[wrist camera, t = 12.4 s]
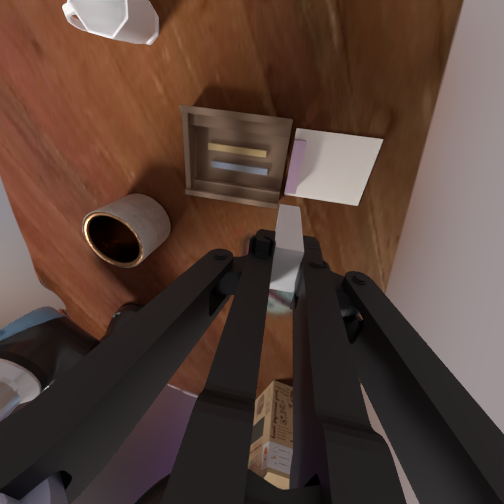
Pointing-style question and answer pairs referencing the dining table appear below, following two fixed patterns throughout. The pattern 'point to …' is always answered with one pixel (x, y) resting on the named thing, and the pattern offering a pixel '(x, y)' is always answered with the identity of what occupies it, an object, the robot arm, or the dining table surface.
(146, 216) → the planter
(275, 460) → the box
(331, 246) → the dining table surface
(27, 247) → the dining table surface
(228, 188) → the pencil case
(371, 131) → the dining table surface
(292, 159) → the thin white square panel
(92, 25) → the cup
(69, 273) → the dining table surface
